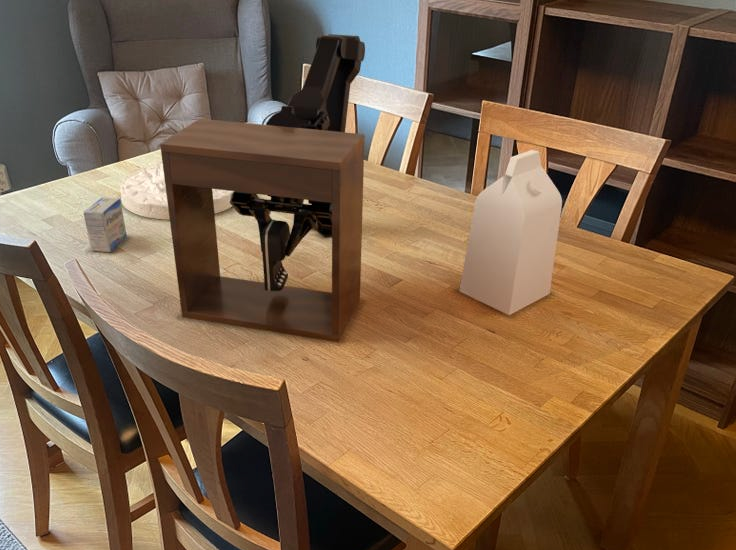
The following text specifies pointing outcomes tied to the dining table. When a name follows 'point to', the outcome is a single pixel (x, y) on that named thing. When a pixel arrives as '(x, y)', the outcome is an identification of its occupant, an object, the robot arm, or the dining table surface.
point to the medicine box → (105, 224)
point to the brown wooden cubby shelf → (275, 178)
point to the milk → (513, 237)
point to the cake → (158, 194)
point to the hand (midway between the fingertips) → (274, 254)
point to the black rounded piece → (274, 254)
